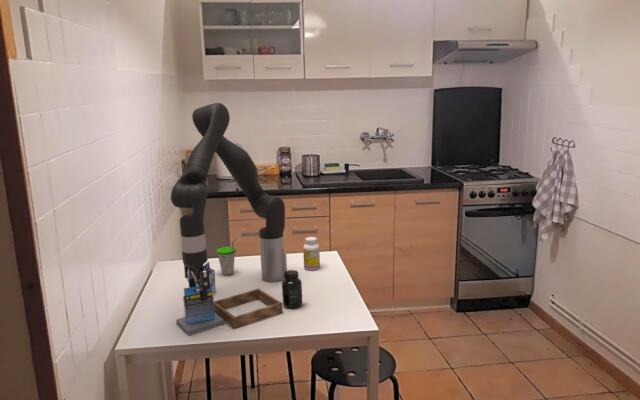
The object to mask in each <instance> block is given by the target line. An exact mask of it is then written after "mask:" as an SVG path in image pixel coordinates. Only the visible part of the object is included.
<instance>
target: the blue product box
mask: <svg viewBox="0 0 640 400" xmlns="http://www.w3.org/2000/svg"><path fill="white" fill-rule="evenodd" d="M204 286H205V285H204ZM197 289H199V287H198V286H197V285H196V287H190V288H189V287H184V288H183V292H184V293H183V294H184V295H183V307H184V309H183V310H184V317H185V320H186V323H187V325H189V324H193V323H198V322H202V321H207V320H213V319H215V313H214V293H213V291H212V284H210V289H207V293H208V300H207V301H203V302H202V301H201V300H200V291H197V292H194V290H197Z"/></svg>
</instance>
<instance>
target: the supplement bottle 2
mask: <svg viewBox="0 0 640 400" xmlns="http://www.w3.org/2000/svg"><path fill="white" fill-rule="evenodd" d="M317 241H318V238H317V237H315V236H309V237H305V244H304V245H303V247H302V248H303V250H302V251H303V268H304V270H306V271H316V270H319V269H320V267H321V261H320V260H321V259H320V258H321V257H320V244H318V243H317Z"/></svg>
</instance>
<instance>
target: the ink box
mask: <svg viewBox="0 0 640 400" xmlns="http://www.w3.org/2000/svg"><path fill="white" fill-rule="evenodd" d="M203 267H204V270H208V271H209V279H210V284H212V291H213V294H214V293H215V292H216V270H215V269H213V268H211V266H210V261H207V262H206V263H204V264H203ZM200 284H201V283H200ZM196 286H198V285H197V284H196ZM197 291H200V290H199V289H197Z"/></svg>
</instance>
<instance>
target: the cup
mask: <svg viewBox="0 0 640 400" xmlns="http://www.w3.org/2000/svg"><path fill="white" fill-rule="evenodd" d="M236 240H237V238H234V239H233V240H232V241H231V246H221V247H219V248H217V249H216V250H215V251H216V255H217V257H218V261H219V266H220V270H221V275H222V276H225V277H226V276H227V277H228V276H232V275H234V270H235V257H236V255H235V254H236V252H237V249H236V247H234V242H235V241H236Z"/></svg>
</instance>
